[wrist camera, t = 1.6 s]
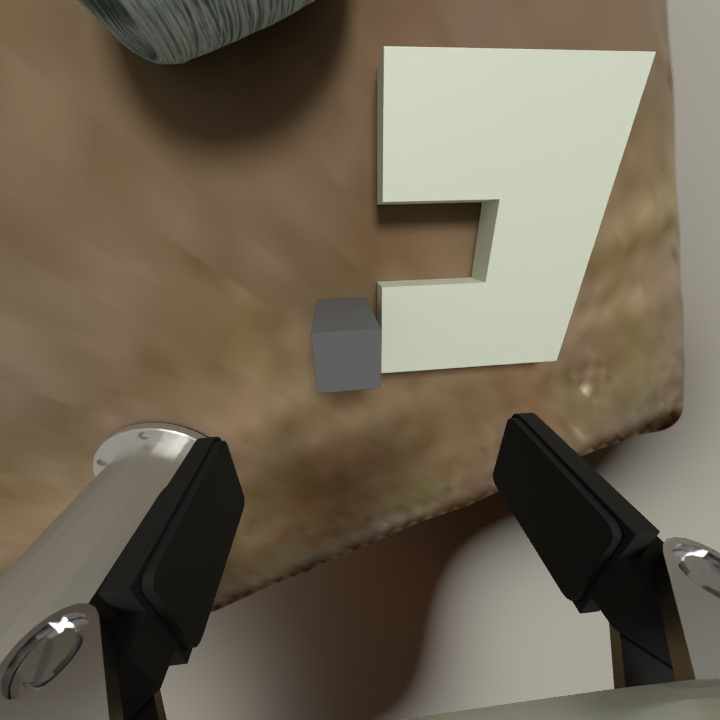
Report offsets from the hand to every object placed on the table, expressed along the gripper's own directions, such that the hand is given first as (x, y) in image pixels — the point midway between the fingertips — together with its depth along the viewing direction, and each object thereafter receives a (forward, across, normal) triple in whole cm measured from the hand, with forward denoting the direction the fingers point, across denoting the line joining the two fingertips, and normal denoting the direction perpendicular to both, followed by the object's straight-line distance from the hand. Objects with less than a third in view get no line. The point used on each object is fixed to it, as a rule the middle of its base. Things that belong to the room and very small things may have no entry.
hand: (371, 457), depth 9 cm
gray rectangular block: (+16, +1, 0) cm, 16 cm away
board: (+16, -10, -6) cm, 20 cm away
